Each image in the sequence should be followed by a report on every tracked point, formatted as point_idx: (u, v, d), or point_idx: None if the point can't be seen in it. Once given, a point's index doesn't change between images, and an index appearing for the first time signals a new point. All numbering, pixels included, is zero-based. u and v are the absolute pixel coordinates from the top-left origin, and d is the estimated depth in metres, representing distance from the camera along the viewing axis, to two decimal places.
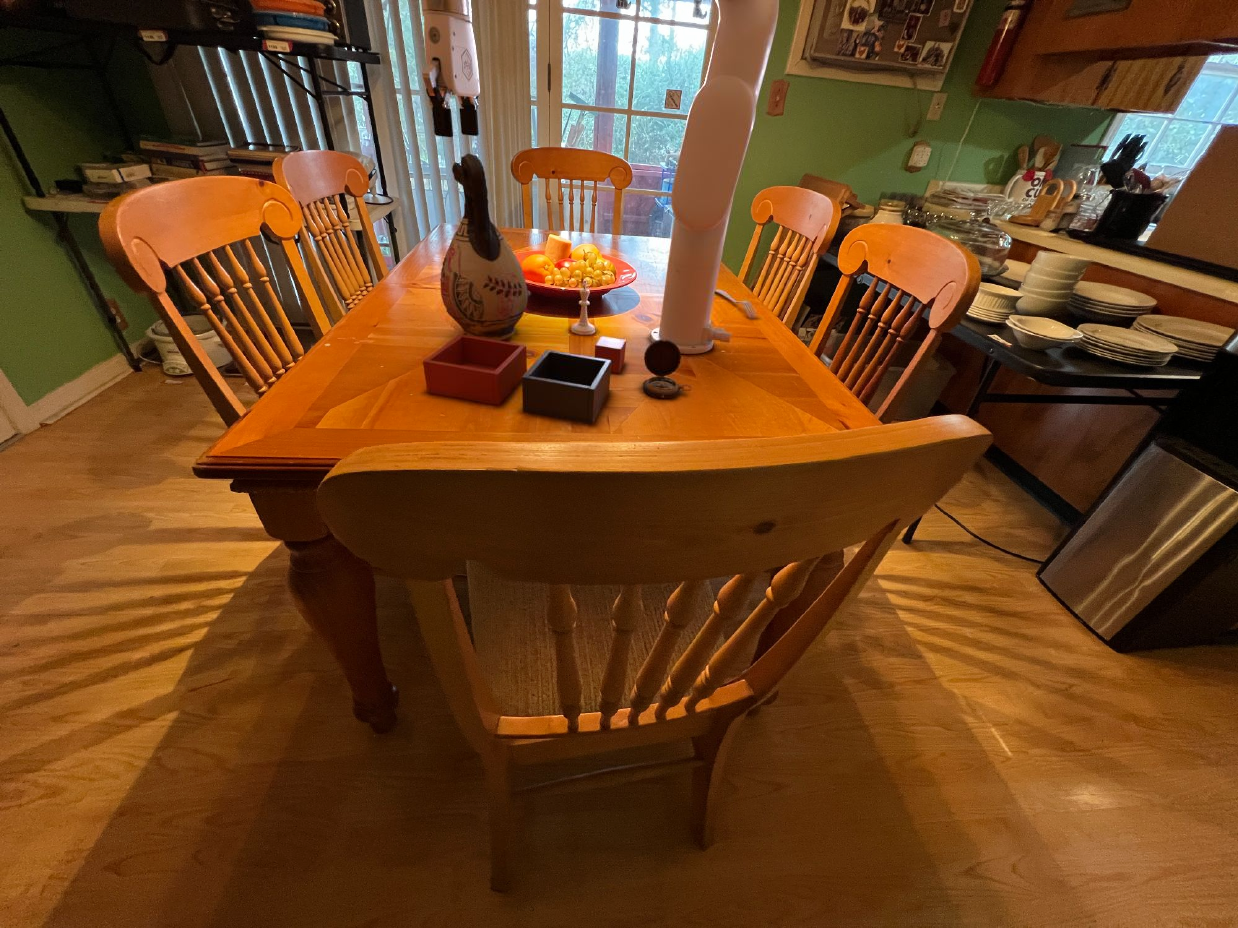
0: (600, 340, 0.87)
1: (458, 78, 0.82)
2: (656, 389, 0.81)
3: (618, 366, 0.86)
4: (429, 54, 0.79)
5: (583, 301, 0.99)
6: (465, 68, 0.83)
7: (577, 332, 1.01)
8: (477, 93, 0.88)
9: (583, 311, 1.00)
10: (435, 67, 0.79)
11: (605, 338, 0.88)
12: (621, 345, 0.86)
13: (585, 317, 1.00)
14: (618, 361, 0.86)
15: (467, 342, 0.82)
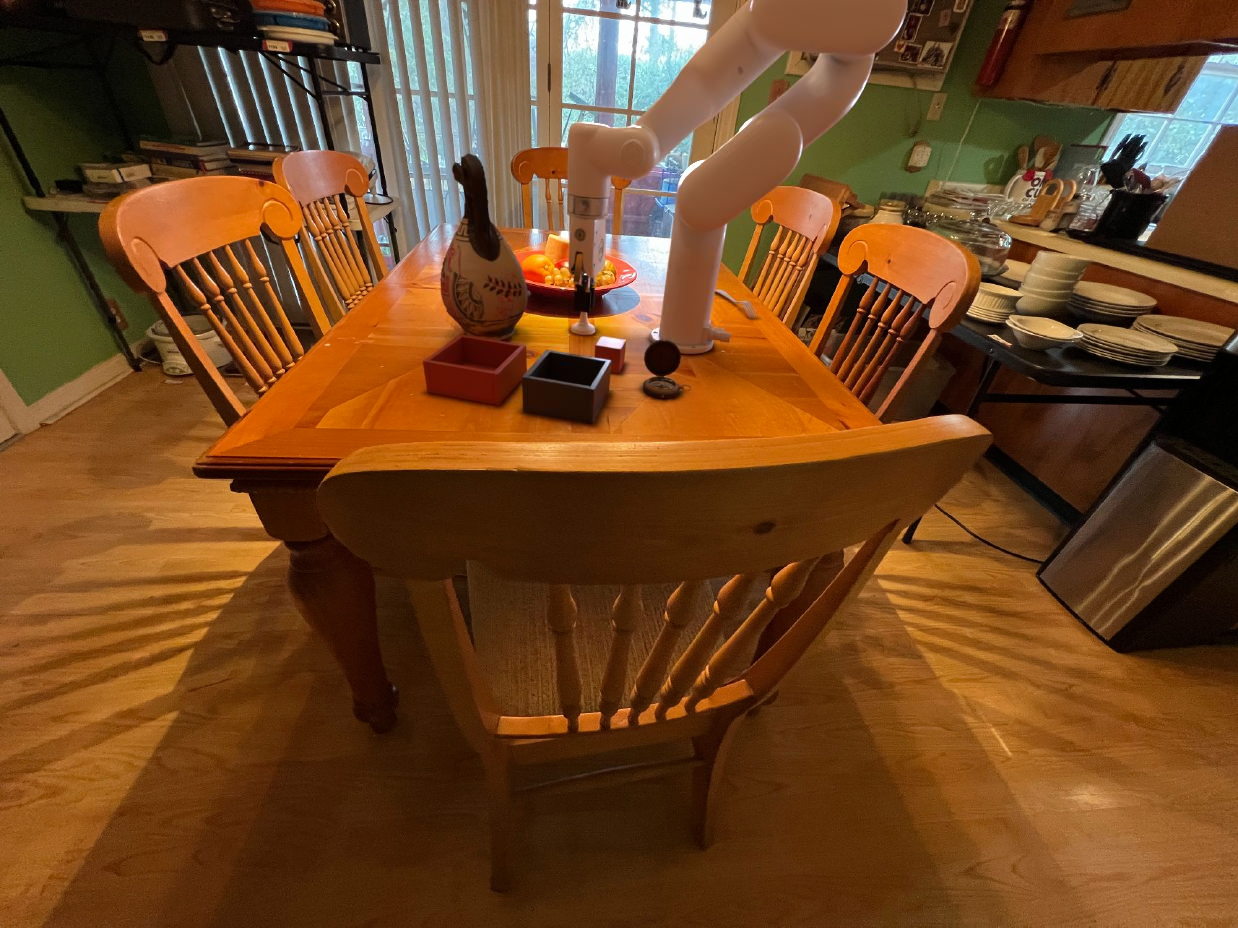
0: (600, 340, 0.87)
1: (595, 265, 0.92)
2: (656, 389, 0.81)
3: (618, 366, 0.86)
4: (573, 248, 0.89)
5: None
6: (599, 253, 0.93)
7: (577, 332, 1.01)
8: (603, 266, 0.98)
9: None
10: (581, 269, 0.91)
11: (605, 338, 0.88)
12: (621, 345, 0.86)
13: (585, 317, 1.00)
14: (618, 361, 0.86)
15: (467, 342, 0.82)
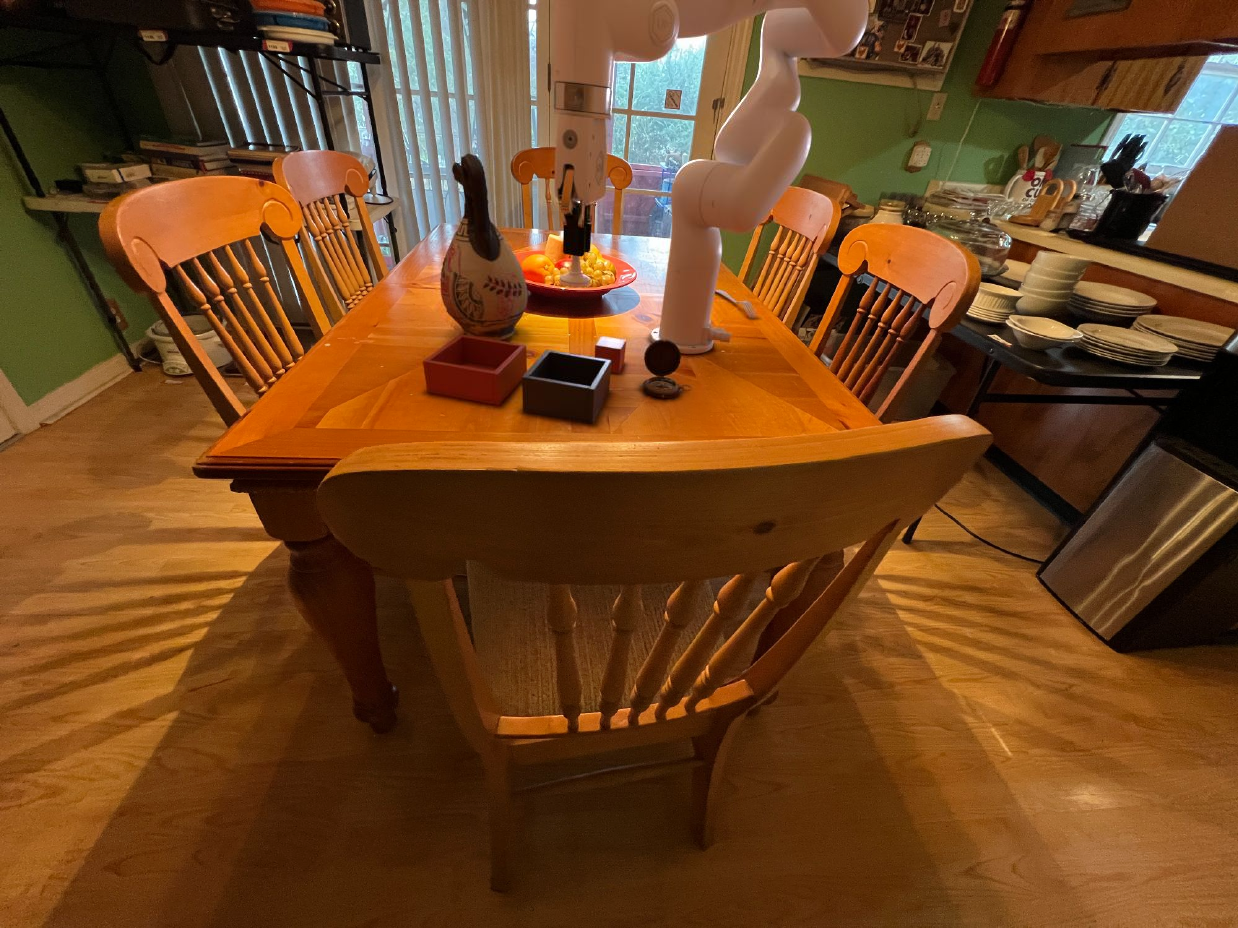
0: (600, 340, 0.87)
1: (591, 186, 0.67)
2: (656, 389, 0.81)
3: (618, 366, 0.86)
4: (561, 160, 0.65)
5: None
6: (598, 172, 0.69)
7: (567, 283, 0.76)
8: (603, 195, 0.74)
9: None
10: (571, 191, 0.67)
11: (605, 338, 0.88)
12: (621, 345, 0.86)
13: (577, 264, 0.76)
14: (618, 361, 0.86)
15: (467, 342, 0.82)
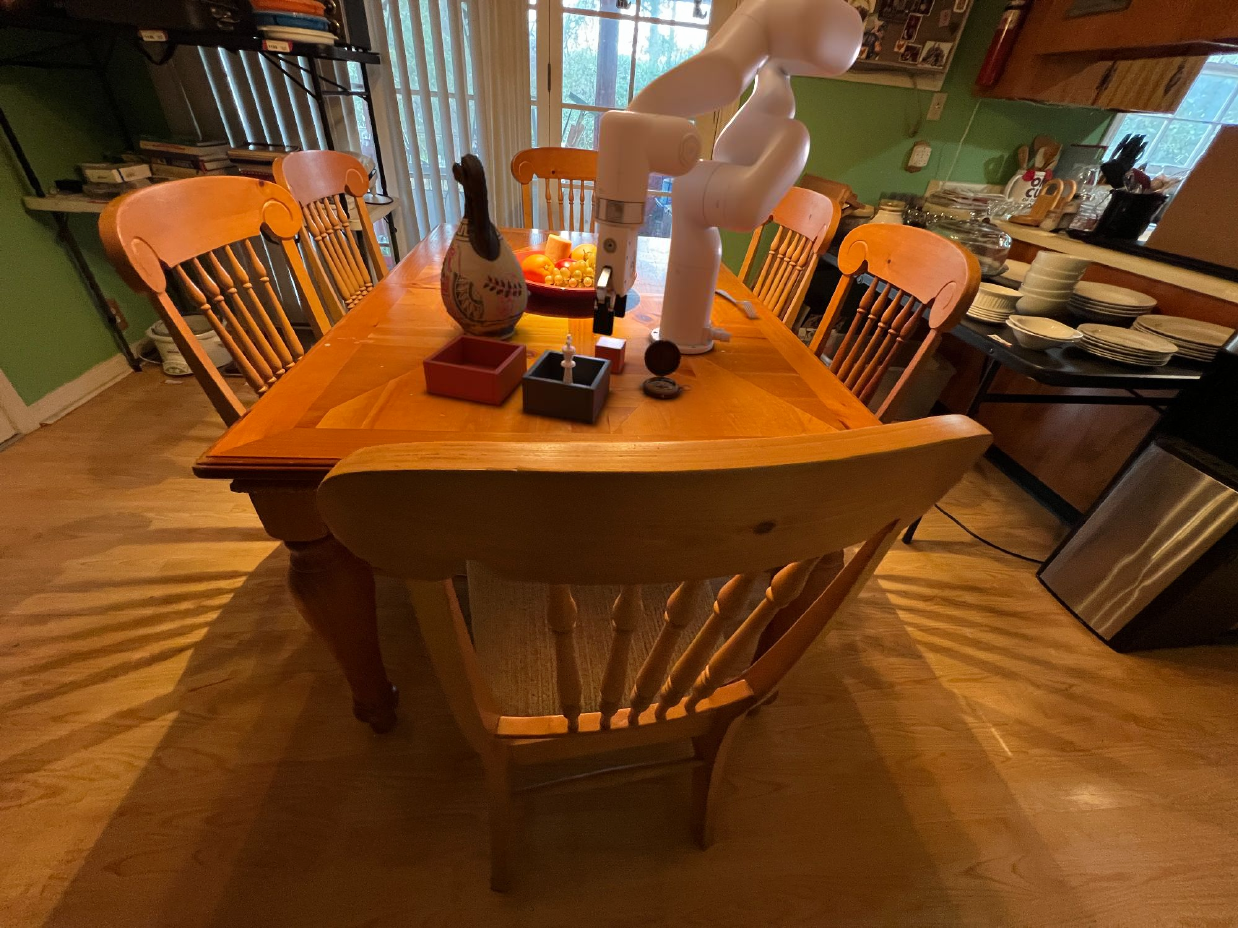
0: (600, 340, 0.87)
1: (626, 282, 0.77)
2: (656, 389, 0.81)
3: (618, 366, 0.86)
4: (601, 262, 0.74)
5: (567, 362, 0.73)
6: (631, 268, 0.78)
7: None
8: (633, 283, 0.83)
9: (567, 374, 0.74)
10: (608, 278, 0.74)
11: (605, 338, 0.88)
12: (621, 345, 0.86)
13: (570, 382, 0.75)
14: (618, 361, 0.86)
15: (467, 342, 0.82)
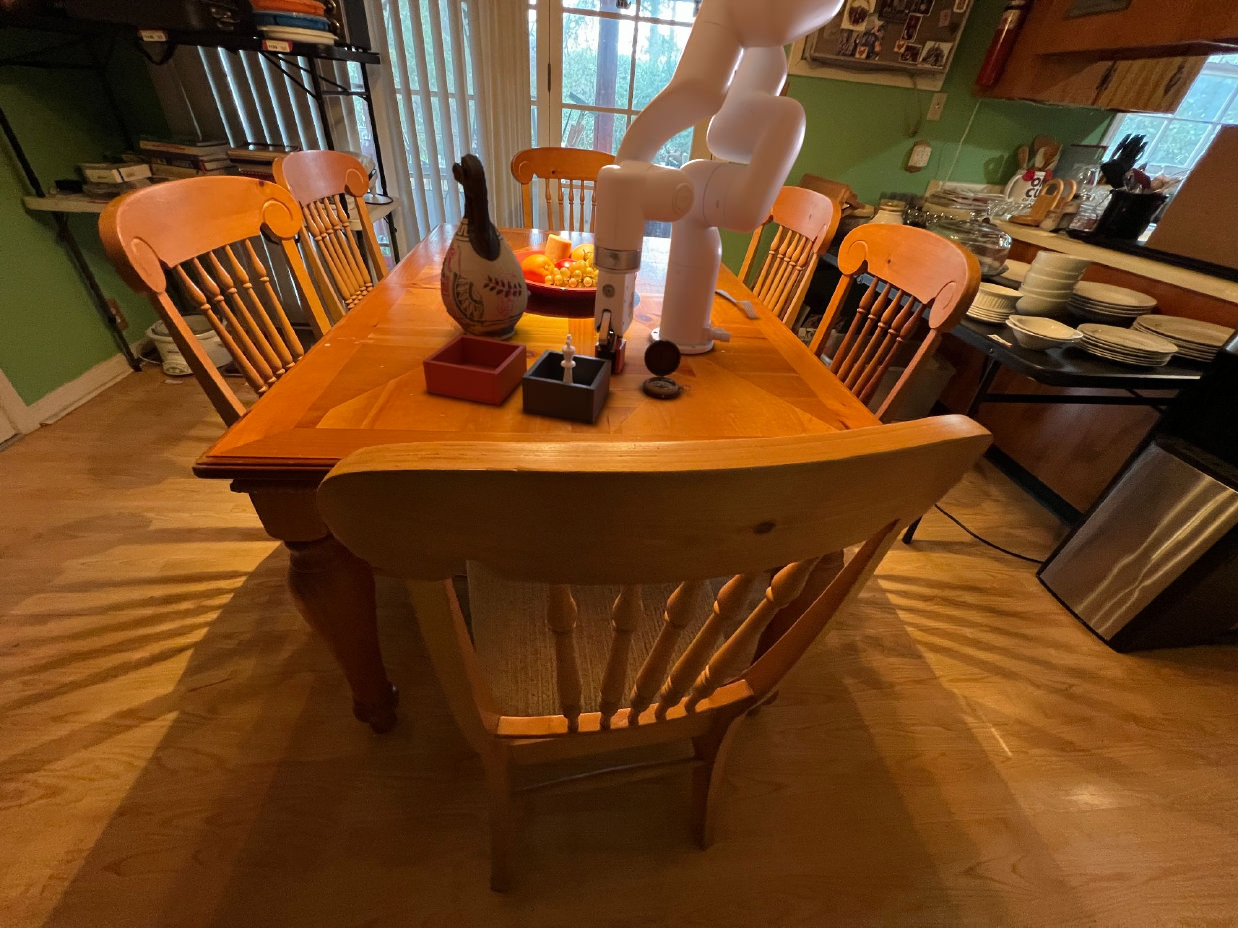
0: None
1: (625, 322, 0.81)
2: (656, 389, 0.81)
3: (618, 366, 0.86)
4: (600, 305, 0.79)
5: (567, 362, 0.73)
6: (629, 308, 0.82)
7: None
8: None
9: (567, 374, 0.74)
10: (608, 327, 0.79)
11: None
12: (621, 345, 0.86)
13: (570, 382, 0.75)
14: (618, 361, 0.86)
15: (467, 342, 0.82)
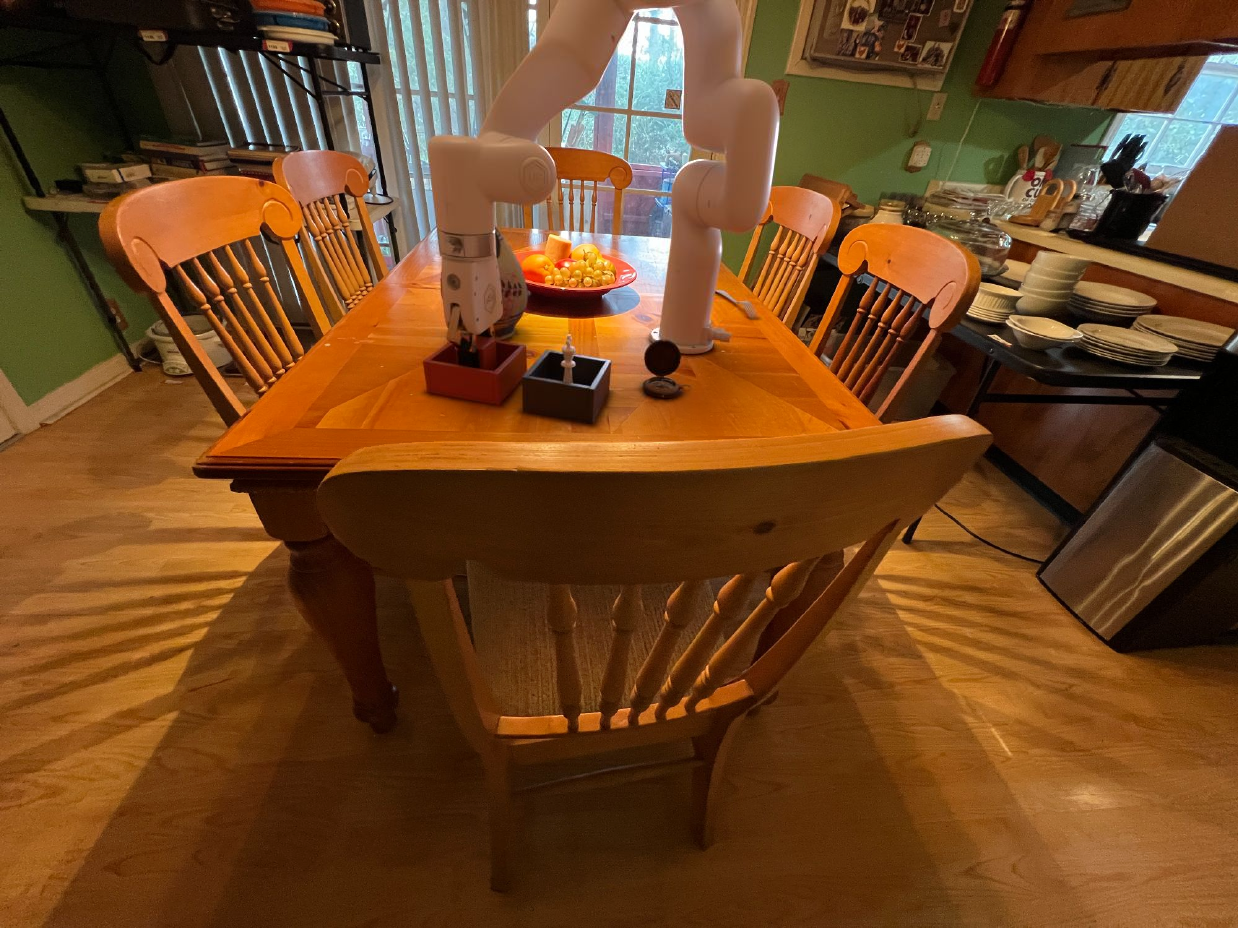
0: None
1: (480, 319, 0.70)
2: (656, 389, 0.81)
3: (483, 368, 0.76)
4: (447, 299, 0.68)
5: (567, 362, 0.73)
6: (488, 303, 0.72)
7: None
8: (500, 316, 0.77)
9: (567, 374, 0.74)
10: (458, 324, 0.69)
11: None
12: (486, 344, 0.76)
13: (570, 382, 0.75)
14: (482, 363, 0.76)
15: None
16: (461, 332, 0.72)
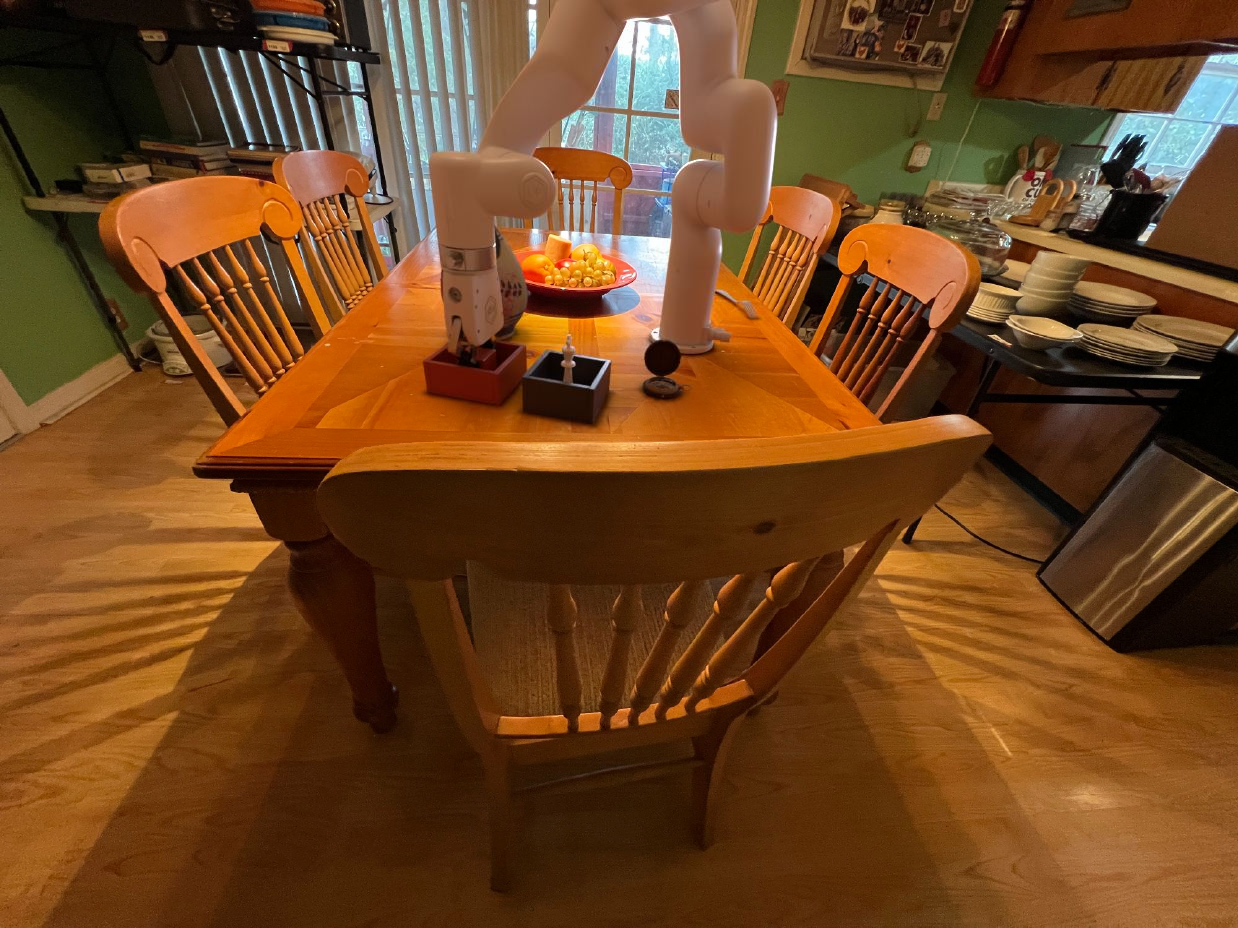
0: None
1: (481, 330, 0.71)
2: (656, 389, 0.81)
3: None
4: (449, 311, 0.69)
5: (567, 362, 0.73)
6: (489, 314, 0.73)
7: None
8: (501, 327, 0.78)
9: (567, 374, 0.74)
10: (459, 335, 0.70)
11: None
12: (487, 356, 0.77)
13: (570, 382, 0.75)
14: None
15: None
16: (462, 343, 0.73)
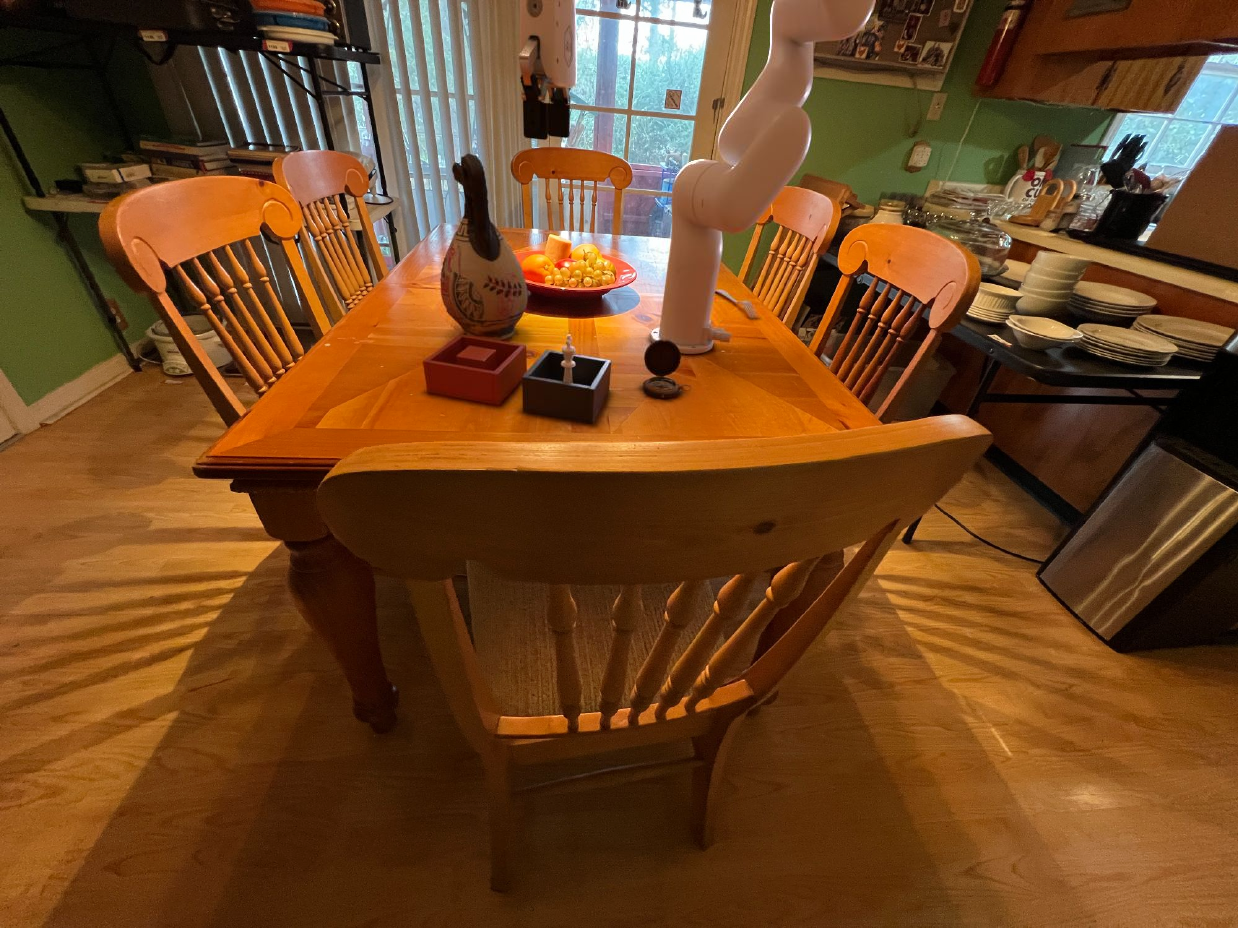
0: (465, 350, 0.78)
1: (560, 63, 0.63)
2: (656, 389, 0.81)
3: None
4: (525, 31, 0.61)
5: (567, 362, 0.73)
6: (566, 51, 0.64)
7: None
8: (574, 84, 0.69)
9: (567, 374, 0.74)
10: (534, 49, 0.60)
11: (472, 348, 0.79)
12: (487, 356, 0.77)
13: (570, 382, 0.75)
14: None
15: (467, 342, 0.82)
16: None
